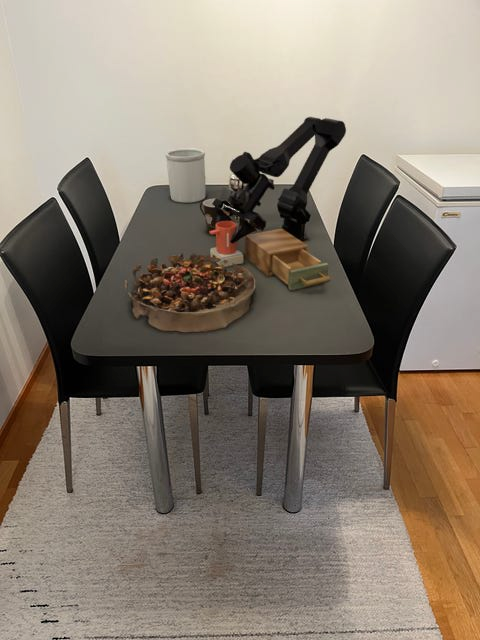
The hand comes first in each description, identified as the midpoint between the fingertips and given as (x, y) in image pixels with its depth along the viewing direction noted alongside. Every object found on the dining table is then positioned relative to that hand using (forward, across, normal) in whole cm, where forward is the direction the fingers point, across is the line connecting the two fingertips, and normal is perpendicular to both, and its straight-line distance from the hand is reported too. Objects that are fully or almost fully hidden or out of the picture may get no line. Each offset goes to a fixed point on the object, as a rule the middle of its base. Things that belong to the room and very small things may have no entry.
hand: (222, 238), depth 144 cm
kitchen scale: (+4, 0, +6) cm, 7 cm away
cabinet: (-3, +10, +13) cm, 17 cm away
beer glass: (-13, -25, +24) cm, 37 cm away
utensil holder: (-13, -56, +23) cm, 62 cm away
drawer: (-1, +23, +10) cm, 26 cm away
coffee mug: (-4, -21, +14) cm, 26 cm away
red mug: (+3, 0, +3) cm, 4 cm away
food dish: (+19, +12, -8) cm, 23 cm away
